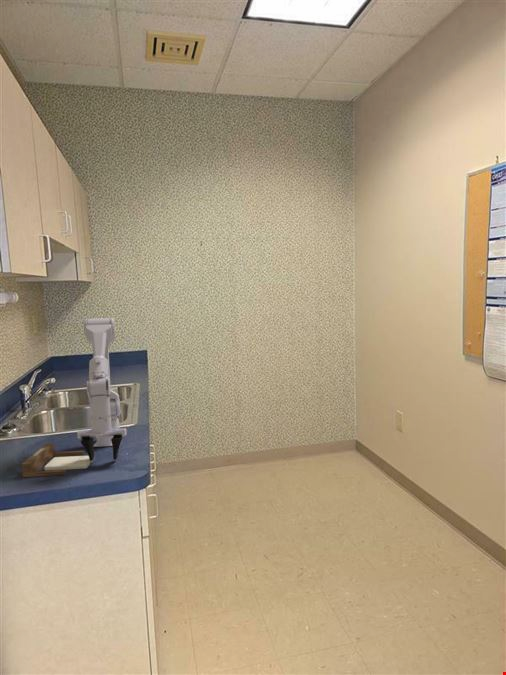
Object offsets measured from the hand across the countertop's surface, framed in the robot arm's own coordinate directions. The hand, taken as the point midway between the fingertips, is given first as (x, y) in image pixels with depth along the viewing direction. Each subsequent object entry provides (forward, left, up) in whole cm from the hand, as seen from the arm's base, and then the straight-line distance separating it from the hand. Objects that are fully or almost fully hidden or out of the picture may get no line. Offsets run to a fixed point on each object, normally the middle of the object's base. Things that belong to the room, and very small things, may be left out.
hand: (103, 459), depth 135 cm
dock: (0, -15, -1) cm, 15 cm away
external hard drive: (0, -10, -2) cm, 10 cm away
